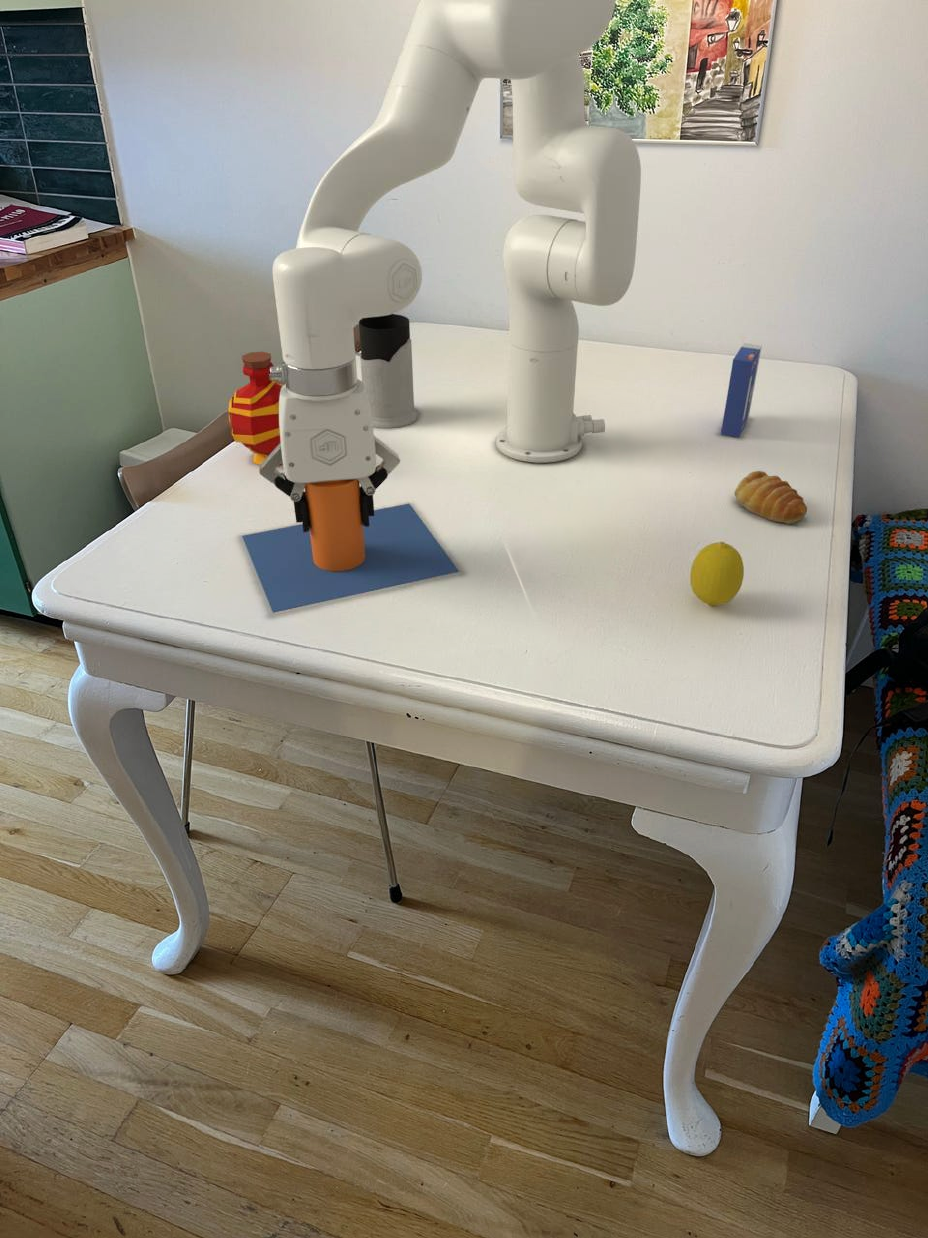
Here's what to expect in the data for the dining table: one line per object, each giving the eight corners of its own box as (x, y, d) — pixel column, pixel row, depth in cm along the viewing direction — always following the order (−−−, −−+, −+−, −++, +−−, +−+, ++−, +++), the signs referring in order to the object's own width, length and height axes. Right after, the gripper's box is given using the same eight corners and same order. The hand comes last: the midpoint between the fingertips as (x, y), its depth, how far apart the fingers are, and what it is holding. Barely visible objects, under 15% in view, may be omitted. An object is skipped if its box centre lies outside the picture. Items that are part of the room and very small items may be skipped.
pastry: (818, 518, 118) (824, 491, 116) (780, 532, 115) (786, 505, 113) (763, 489, 124) (768, 463, 122) (726, 502, 122) (730, 476, 119)
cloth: (409, 505, 121) (409, 503, 121) (459, 573, 108) (459, 571, 108) (242, 537, 115) (241, 535, 115) (273, 614, 101) (272, 612, 101)
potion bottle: (292, 477, 128) (279, 372, 120) (223, 470, 130) (205, 367, 121) (317, 445, 137) (306, 345, 128) (251, 440, 138) (236, 341, 130)
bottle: (363, 542, 113) (352, 414, 104) (367, 569, 108) (356, 437, 99) (312, 547, 112) (297, 418, 103) (314, 574, 107) (298, 442, 98)
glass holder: (405, 430, 141) (400, 333, 132) (320, 419, 145) (310, 323, 136) (425, 409, 148) (422, 315, 139) (344, 399, 151) (336, 306, 143)
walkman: (739, 438, 138) (753, 359, 131) (720, 434, 139) (733, 356, 132) (749, 418, 144) (763, 342, 137) (731, 415, 145) (744, 339, 138)
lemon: (680, 592, 104) (689, 531, 100) (727, 590, 105) (739, 528, 100) (694, 621, 100) (704, 557, 95) (744, 618, 100) (757, 555, 95)
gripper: (236, 393, 93) (260, 547, 103) (406, 381, 95) (413, 532, 106) (238, 367, 99) (261, 515, 109) (398, 356, 101) (405, 502, 112)
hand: (335, 522), depth 107 cm, fingers closed on bottle, 6 cm apart
